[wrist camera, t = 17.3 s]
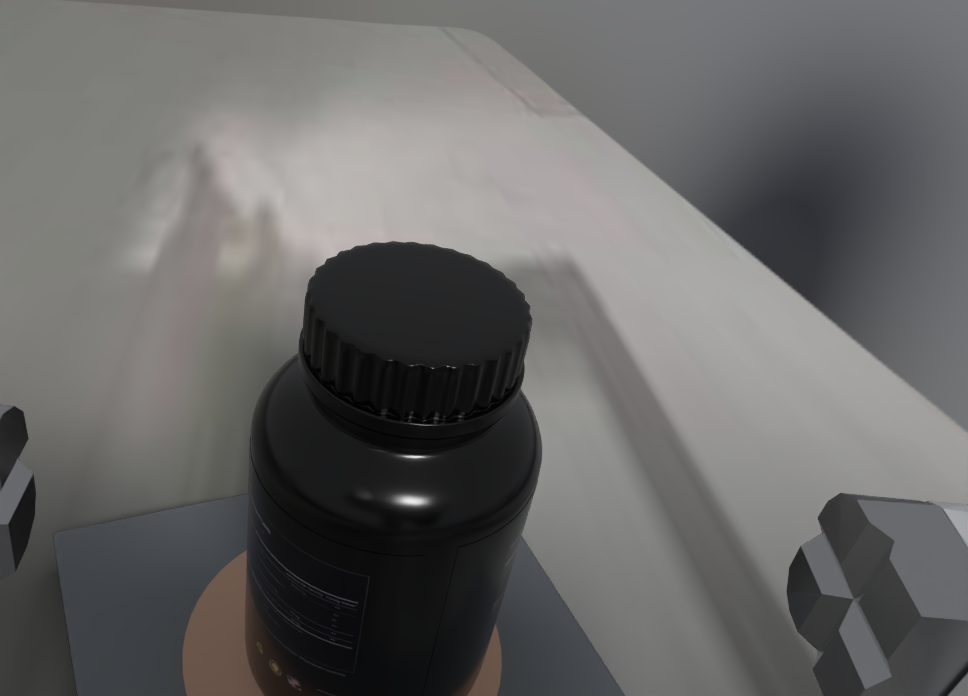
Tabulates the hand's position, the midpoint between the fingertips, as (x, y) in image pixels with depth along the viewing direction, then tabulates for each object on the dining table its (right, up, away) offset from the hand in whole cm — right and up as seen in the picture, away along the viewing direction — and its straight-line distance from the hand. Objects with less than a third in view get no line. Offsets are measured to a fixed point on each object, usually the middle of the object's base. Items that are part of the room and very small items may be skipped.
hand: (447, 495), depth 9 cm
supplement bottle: (-3, -7, +16) cm, 18 cm away
